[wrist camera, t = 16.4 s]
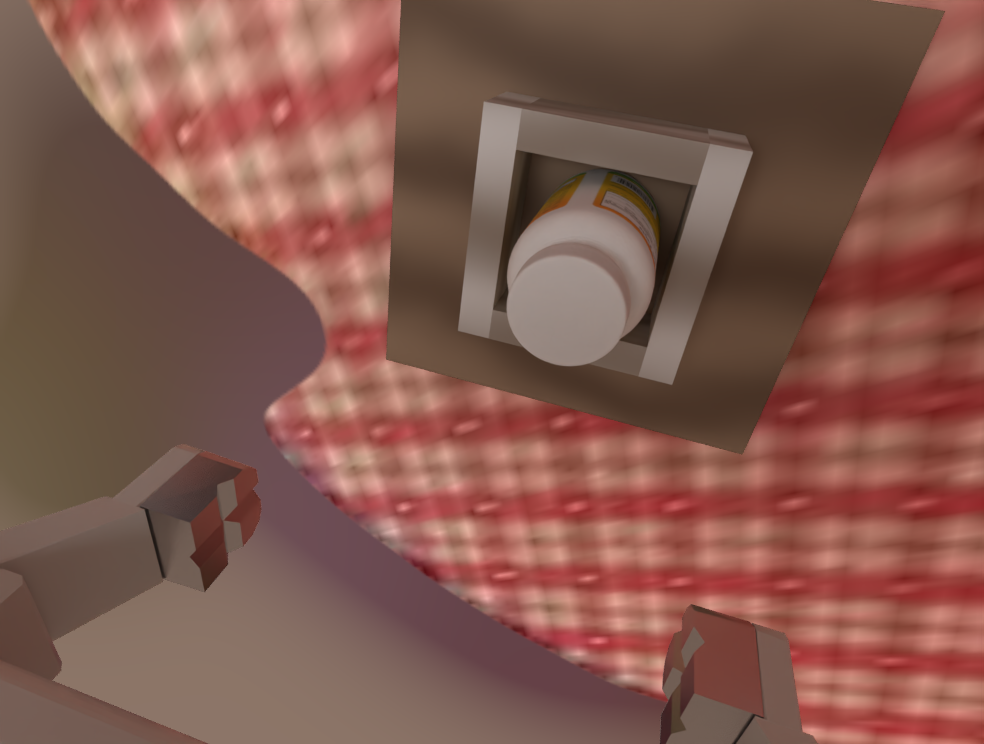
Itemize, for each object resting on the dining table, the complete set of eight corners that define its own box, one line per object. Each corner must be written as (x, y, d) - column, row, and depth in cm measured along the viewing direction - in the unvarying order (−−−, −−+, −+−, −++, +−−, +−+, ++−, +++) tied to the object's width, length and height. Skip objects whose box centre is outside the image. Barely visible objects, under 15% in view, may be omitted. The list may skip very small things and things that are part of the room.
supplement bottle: (544, 281, 30) (491, 380, 22) (540, 168, 27) (477, 233, 19) (658, 284, 28) (646, 392, 20) (665, 164, 26) (654, 233, 18)
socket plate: (413, -64, 25) (365, -78, 21) (935, 11, 22) (986, 10, 18) (393, 351, 36) (358, 391, 32) (741, 443, 32) (747, 499, 29)
